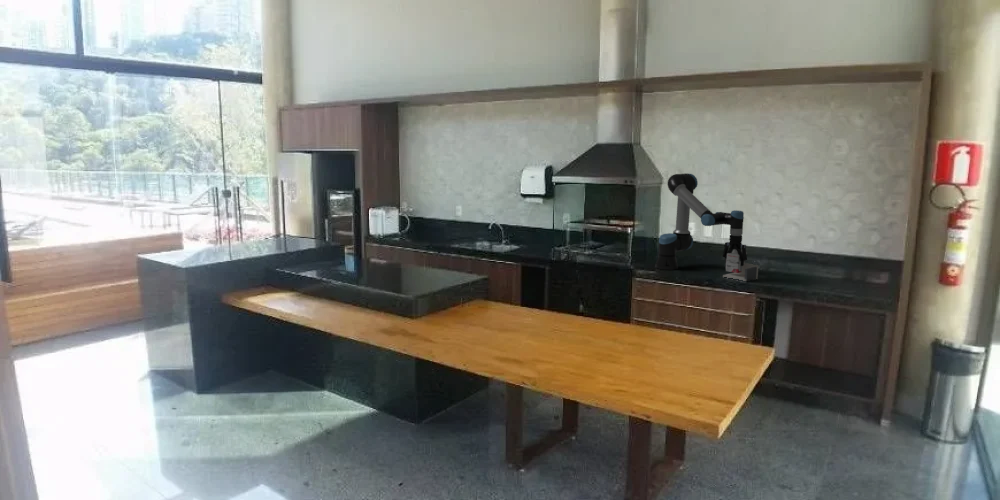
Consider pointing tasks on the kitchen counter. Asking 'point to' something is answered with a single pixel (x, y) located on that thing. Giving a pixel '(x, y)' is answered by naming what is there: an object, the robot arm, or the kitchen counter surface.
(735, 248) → the robot arm
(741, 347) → the kitchen counter surface
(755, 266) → the shelf
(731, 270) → the ink box
